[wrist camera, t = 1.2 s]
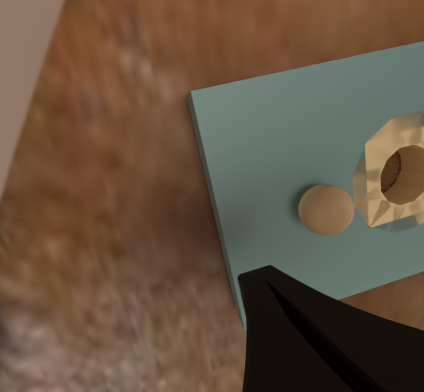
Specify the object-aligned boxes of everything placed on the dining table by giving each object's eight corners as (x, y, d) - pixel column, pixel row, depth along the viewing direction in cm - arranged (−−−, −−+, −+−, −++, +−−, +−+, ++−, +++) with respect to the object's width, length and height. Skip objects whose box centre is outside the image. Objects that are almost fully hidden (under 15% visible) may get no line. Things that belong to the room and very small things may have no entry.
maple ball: (330, 174, 17) (365, 184, 14) (334, 217, 17) (368, 235, 15) (286, 186, 16) (313, 199, 13) (292, 230, 17) (318, 250, 14)
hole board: (436, 42, 18) (478, 29, 16) (431, 244, 23) (463, 258, 20) (186, 96, 16) (190, 91, 14) (235, 307, 21) (245, 331, 18)
